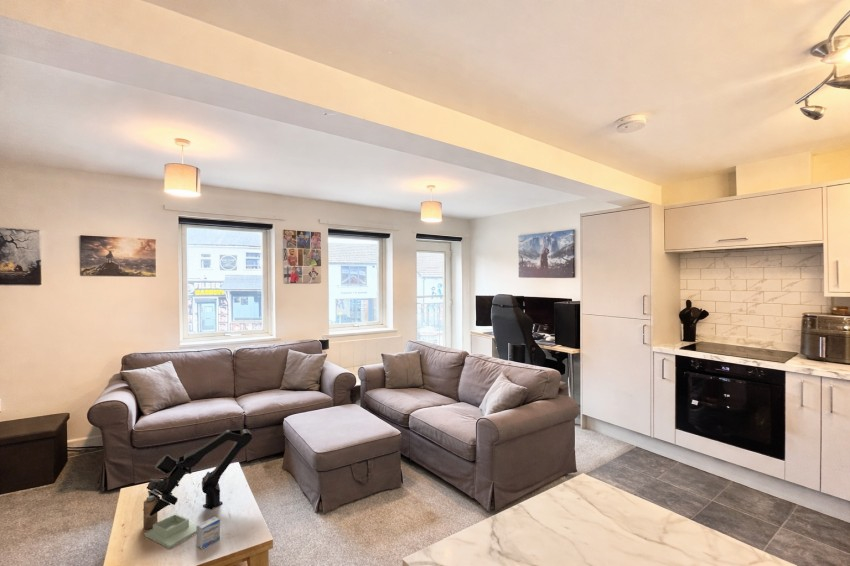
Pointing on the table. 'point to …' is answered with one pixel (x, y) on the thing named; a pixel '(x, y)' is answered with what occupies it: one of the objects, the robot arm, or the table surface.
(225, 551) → the table surface
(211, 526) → the medicine box
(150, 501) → the pepper mill
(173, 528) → the sage tray
